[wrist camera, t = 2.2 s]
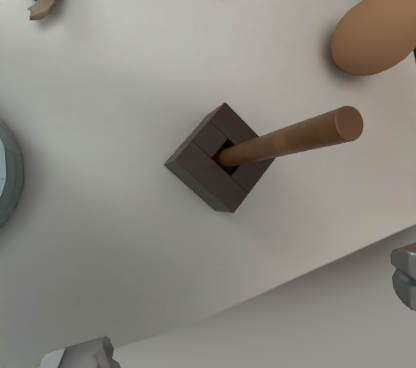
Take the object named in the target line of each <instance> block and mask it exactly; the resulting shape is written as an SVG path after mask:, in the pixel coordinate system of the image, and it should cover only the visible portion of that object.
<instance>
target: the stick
mask: <svg viewBox="0 0 416 368" xmlns="http://www.w3.org/2000/svg"><path fill="white" fill-rule="evenodd" d="M362 131H363V119H362V116H361V114H360V113H359V111H358V110H357V109H355V108H354V107H351V106H343V107H341V108H338V109H335V110H332V111H330V112H327V113H324V114H321V115H318V116H316V117H313V118H310V119H307V120H305V121H302V122H299V123H296V124H293V125H291V126H288V127H285V128H282V129H280V130H277V131H274V132H271V133H268V134H266V135H263V136H260V137H257V138H254V139H252V140H249V141H246V142H243V143H241V144H238V145H235V146H232V147H229V148H227V149H224V150H221V151H218V152H216V153H215V155H214V156H213V157H212V159H213V160H214V161H215V162H216V163H217V164H218V165H219V166H220V167H221V168H222V169H223V168H227V167H232V166H237V165H242V164H246V163H251V162H256V161H261V160H265V159H270V158H275V157H279V156H284V155H289V154H294V153H298V152H303V151H308V150H313V149H317V148H322V147H327V146H332V145H336V144H341V143H346V142H351V141H354V140H356V139H357V138H359V136H360V135H361V133H362Z"/></svg>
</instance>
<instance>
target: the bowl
mask: <svg viewBox="0 0 416 368" xmlns="http://www.w3.org/2000/svg"><path fill="white" fill-rule="evenodd" d="M23 183H24V176H23V158H22V154H21V152H20V150H19V147H18V145H17V143H16V140H15V138H14V135H13V133H12V132H11V131H10V130H9V129H8V127H7V126H6V125H5V124H4V123H3V122H2V121H1V120H0V227H1V226H2V225H3V223H4V222H5V221H6V219H7V218H8V217H9V215H10V214H11V213H12V211H13V210H14V209H15V207H16V205H17V202H18V199H19V196H20V193H21V189H22V186H23Z"/></svg>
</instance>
